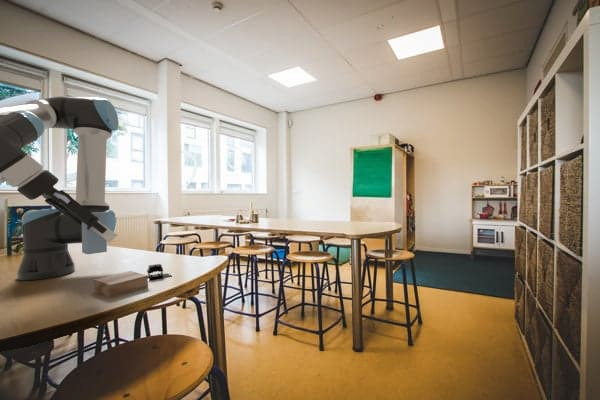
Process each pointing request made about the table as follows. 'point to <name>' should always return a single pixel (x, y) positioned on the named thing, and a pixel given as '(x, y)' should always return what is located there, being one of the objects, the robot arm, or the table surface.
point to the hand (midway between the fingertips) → (109, 238)
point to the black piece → (154, 269)
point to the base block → (120, 284)
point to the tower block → (93, 237)
